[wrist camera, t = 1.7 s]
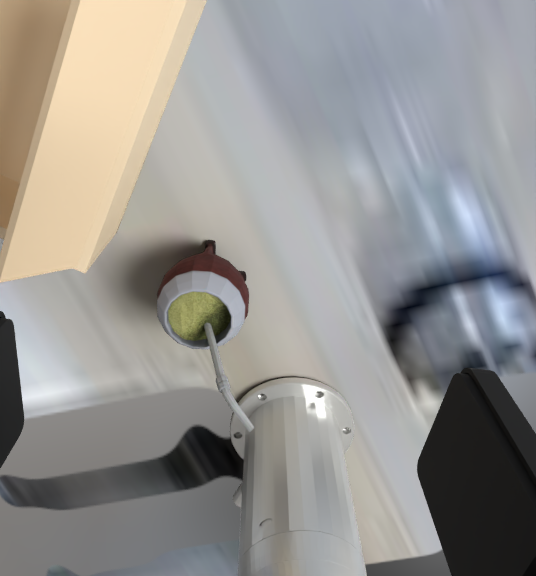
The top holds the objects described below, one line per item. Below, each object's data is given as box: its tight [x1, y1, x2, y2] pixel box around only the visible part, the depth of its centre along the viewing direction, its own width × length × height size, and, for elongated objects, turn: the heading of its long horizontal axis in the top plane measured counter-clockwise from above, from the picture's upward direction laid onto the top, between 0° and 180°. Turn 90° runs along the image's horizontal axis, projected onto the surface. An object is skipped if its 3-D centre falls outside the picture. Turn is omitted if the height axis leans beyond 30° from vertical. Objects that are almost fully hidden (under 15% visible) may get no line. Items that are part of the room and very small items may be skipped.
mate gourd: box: [157, 240, 254, 432], centre depth 36 cm, size 8×8×15 cm
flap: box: [0, 0, 173, 283], centre depth 26 cm, size 18×1×6 cm
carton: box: [0, 0, 207, 273], centre depth 31 cm, size 20×20×8 cm
